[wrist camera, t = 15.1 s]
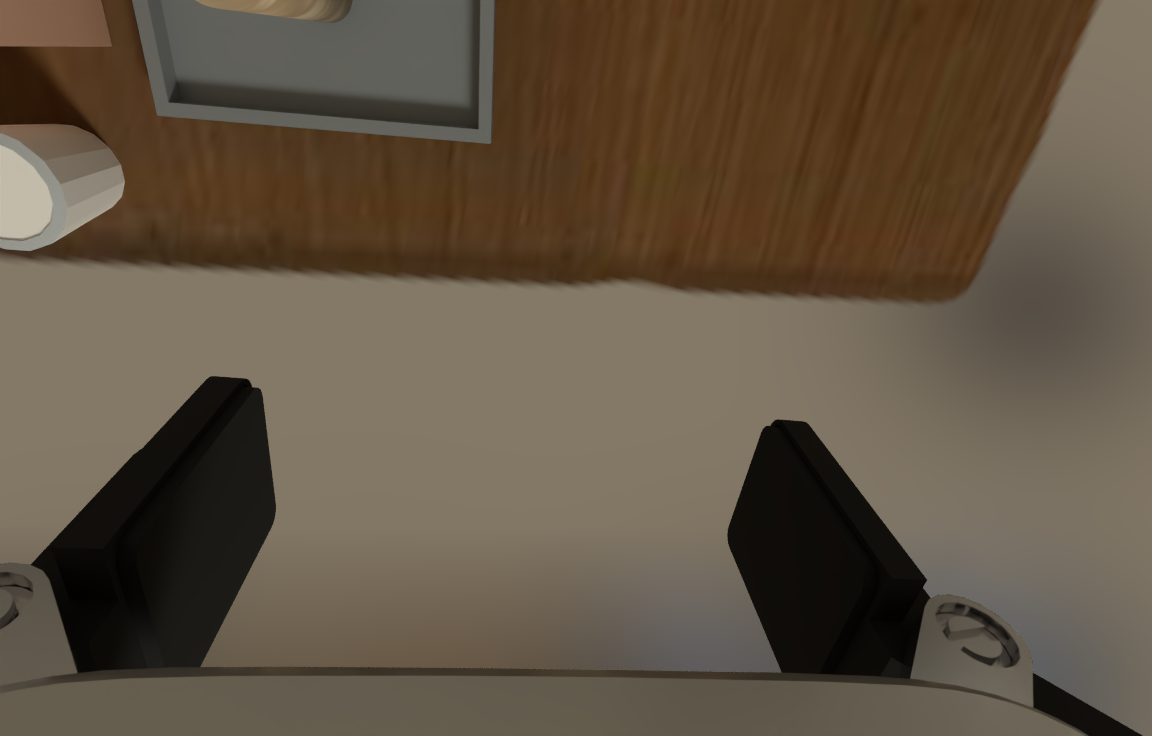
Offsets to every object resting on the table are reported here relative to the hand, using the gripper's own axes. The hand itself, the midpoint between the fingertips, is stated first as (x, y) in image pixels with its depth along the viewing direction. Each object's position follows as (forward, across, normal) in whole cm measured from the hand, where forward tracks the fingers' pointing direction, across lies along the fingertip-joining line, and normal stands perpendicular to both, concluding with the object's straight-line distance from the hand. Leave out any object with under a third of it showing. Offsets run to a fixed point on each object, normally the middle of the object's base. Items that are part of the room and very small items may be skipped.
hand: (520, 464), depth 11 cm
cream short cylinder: (+34, +29, +4) cm, 45 cm away
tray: (+34, +12, -8) cm, 37 cm away
